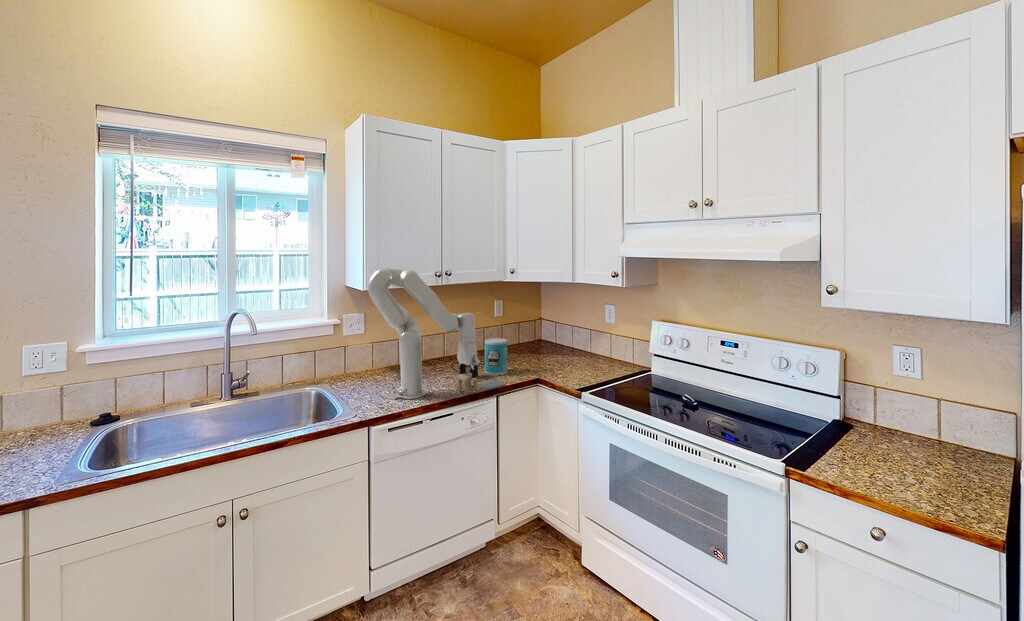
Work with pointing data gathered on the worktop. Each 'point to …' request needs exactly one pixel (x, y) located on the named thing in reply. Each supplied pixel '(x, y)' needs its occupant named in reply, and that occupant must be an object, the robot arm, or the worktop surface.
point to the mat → (491, 384)
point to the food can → (495, 356)
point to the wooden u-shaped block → (467, 382)
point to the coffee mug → (468, 368)
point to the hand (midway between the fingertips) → (468, 375)
